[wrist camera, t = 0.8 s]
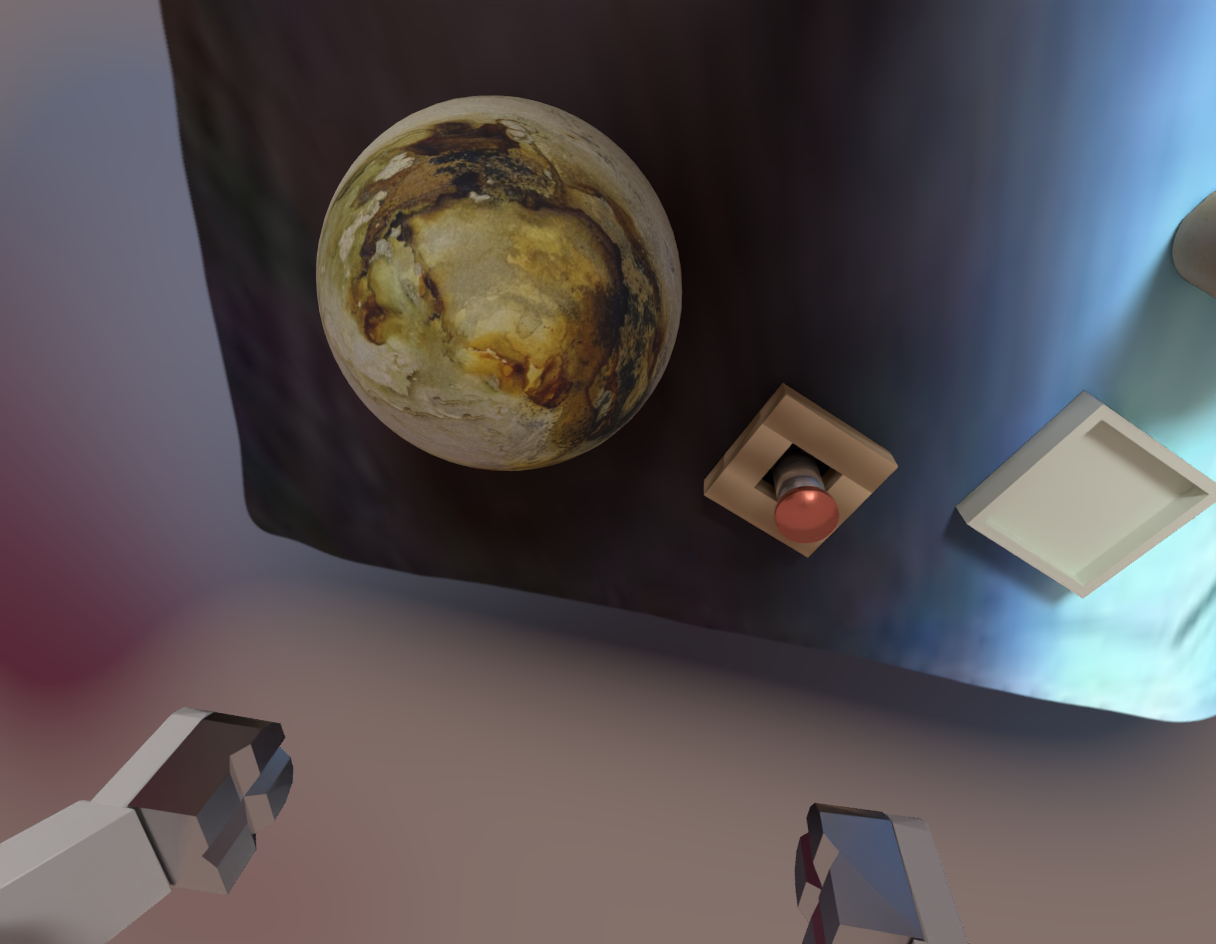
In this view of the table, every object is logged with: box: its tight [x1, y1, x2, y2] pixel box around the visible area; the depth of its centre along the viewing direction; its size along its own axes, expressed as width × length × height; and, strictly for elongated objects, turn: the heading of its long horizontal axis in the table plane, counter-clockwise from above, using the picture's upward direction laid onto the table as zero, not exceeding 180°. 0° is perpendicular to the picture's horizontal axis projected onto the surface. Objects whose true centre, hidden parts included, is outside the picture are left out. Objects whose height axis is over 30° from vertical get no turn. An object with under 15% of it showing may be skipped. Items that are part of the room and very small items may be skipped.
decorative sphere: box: [316, 95, 682, 471], centre depth 36 cm, size 20×20×20 cm
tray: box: [956, 391, 1216, 598], centre depth 46 cm, size 12×12×2 cm
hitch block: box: [704, 383, 898, 557], centre depth 49 cm, size 10×10×2 cm
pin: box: [772, 447, 839, 543], centre depth 46 cm, size 4×4×8 cm
